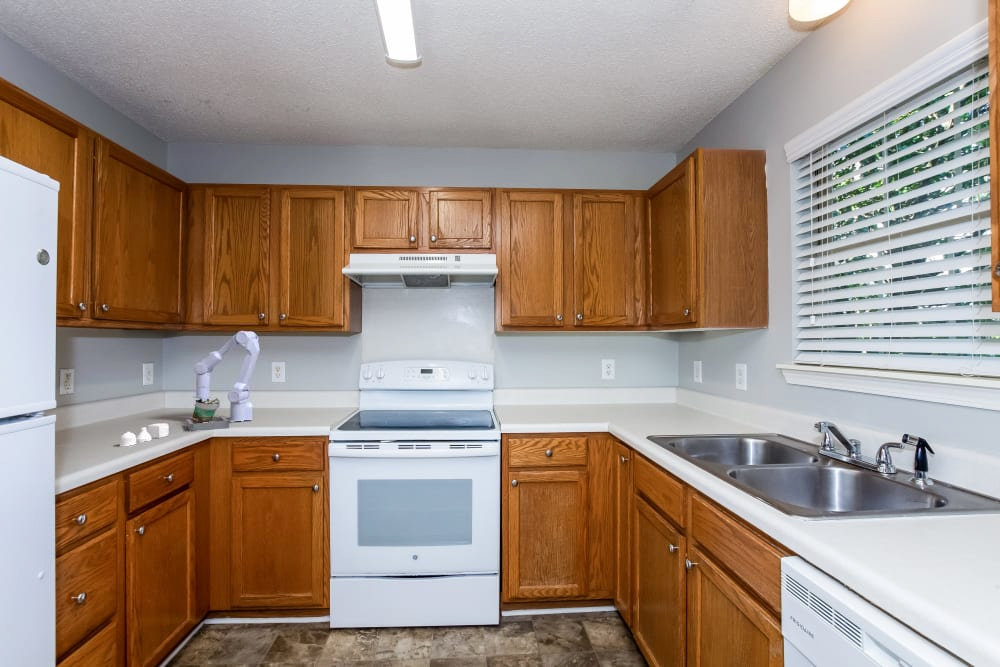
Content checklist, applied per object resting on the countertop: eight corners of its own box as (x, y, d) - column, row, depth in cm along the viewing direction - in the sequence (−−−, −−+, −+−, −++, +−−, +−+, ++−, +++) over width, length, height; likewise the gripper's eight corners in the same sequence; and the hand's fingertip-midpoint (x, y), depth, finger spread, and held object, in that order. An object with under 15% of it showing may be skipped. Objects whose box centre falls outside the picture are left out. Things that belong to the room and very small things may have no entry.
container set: (156, 436, 198) (156, 423, 198) (168, 436, 197) (168, 423, 198) (115, 447, 178) (115, 432, 178) (128, 447, 178) (129, 432, 178)
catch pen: (223, 422, 229) (223, 416, 229) (229, 427, 216) (229, 421, 216) (186, 425, 220) (186, 419, 220) (189, 431, 207) (189, 424, 207)
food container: (198, 426, 222) (205, 407, 220) (188, 420, 223) (195, 401, 222) (220, 421, 234) (226, 403, 232) (210, 415, 235) (217, 397, 234)
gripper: (192, 386, 236) (191, 413, 236) (194, 388, 224) (194, 417, 224) (208, 385, 240) (208, 412, 240) (212, 387, 229) (211, 416, 229)
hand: (202, 414), depth 233 cm, fingers open, 4 cm apart
